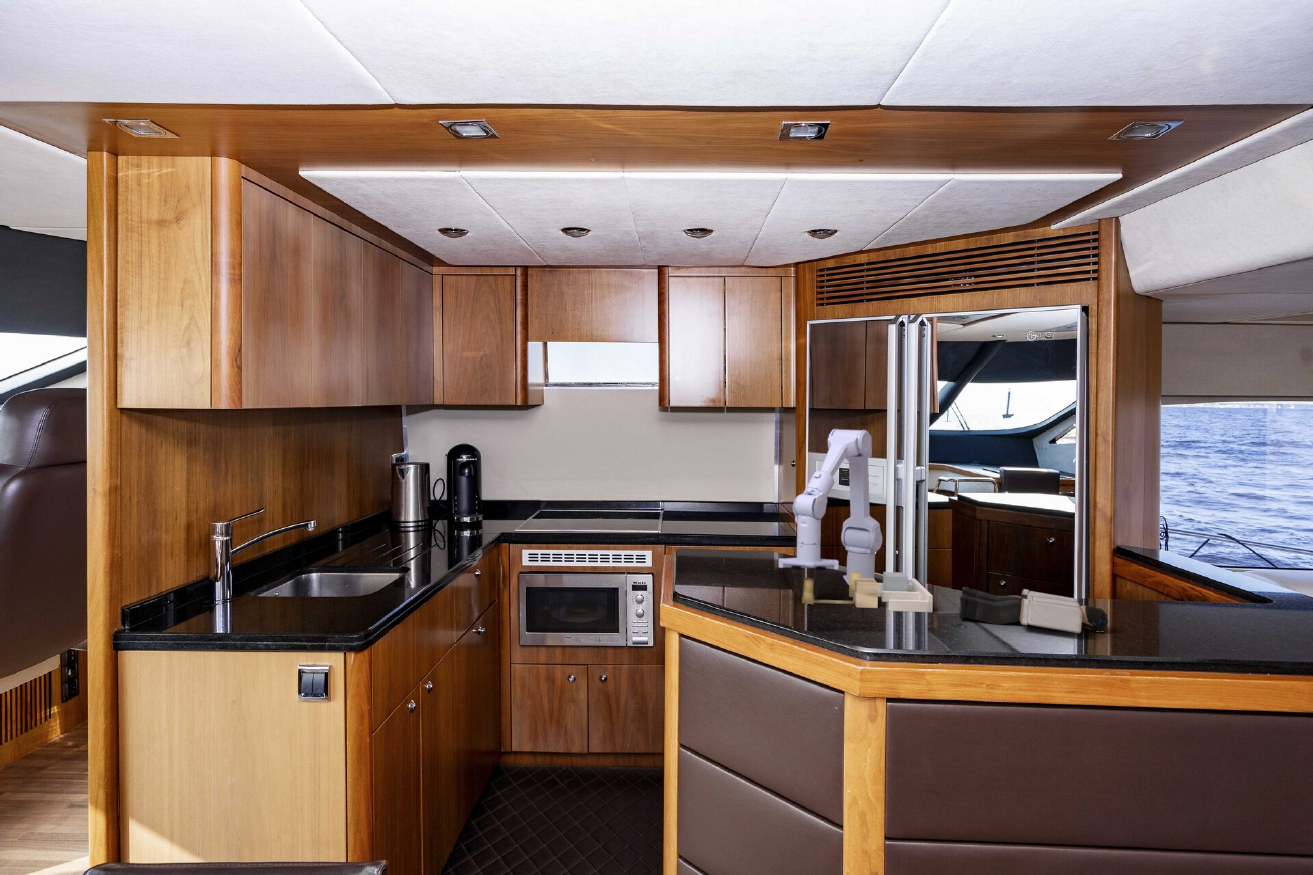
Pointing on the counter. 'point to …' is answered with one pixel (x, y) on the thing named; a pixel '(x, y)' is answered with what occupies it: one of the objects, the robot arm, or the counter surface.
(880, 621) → the counter surface
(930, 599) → the rack
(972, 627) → the counter surface
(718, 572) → the counter surface
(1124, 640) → the counter surface
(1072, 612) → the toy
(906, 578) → the grey handled block
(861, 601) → the beige long piece
